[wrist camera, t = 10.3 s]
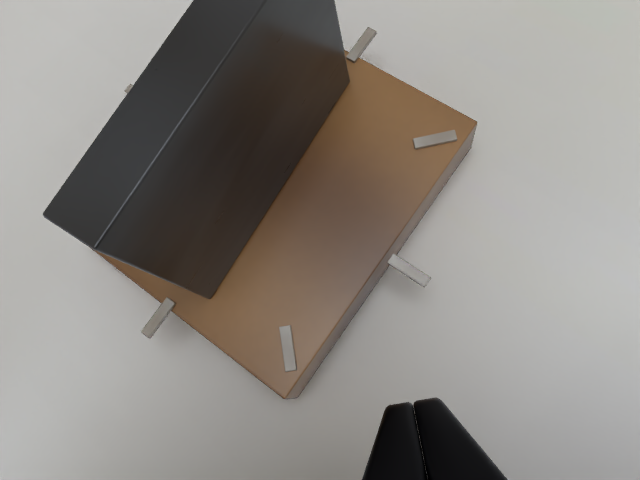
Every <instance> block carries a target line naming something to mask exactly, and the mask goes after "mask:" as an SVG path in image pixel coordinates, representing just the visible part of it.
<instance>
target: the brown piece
mask: <svg viewBox="0 0 640 480" xmlns="http://www.w3.org/2000/svg"><path fill="white" fill-rule="evenodd" d="M376 34H377V33H376V31H375V30H373V29H371V28H369V27H368V28H367V29H366V31H365V32H364V33H363V35H362V36H361V37H360V39H359V40H358V41H357V43H356V44H355V45H354V47H353V48H352V49H351V51H350V52H347V51H345V50H344V52H345V58H346V63H347V68H348V73H349V78H350V82H349V84H348V85H347V87H346V88H345V90H344V91H343V93H342V95H341V96H340V98H339V99H338V101H337V102H336V104H335V105H334V107H333V109H332V110H331V112H330V113H329V115H328V116H327V118H326V120H325V121H324V123H323V124H322V126H321V127H320V129H319V130H318V132H317V134H316V135H315V137H314V138H313V140H312V141H311V143H310V144H309V146H308V148H307V149H306V151H305V152H304V154H303V155H302V157H301V159H300V160H299V162H298V163H297V165H296V166H295V168H294V169H293V171H292V173H291V174H290V176H289V177H288V179H287V180H286V182H285V184H284V185H283V187H282V188H281V190H280V191H279V193H278V194H277V196H276V198H275V199H274V201H273V202H272V204H271V205H270V207H269V209H268V210H267V212H266V213H265V215H264V216H263V218H262V219H261V221H260V223H259V224H258V226H257V227H256V229H255V230H254V232H253V233H252V235H251V237H250V238H249V240H248V241H247V243H246V244H245V246H244V248H243V249H242V251H241V252H240V254H239V255H238V257H237V258H236V260H235V262H234V263H233V265H232V266H231V268H230V269H229V271H228V273H227V274H226V276H225V277H224V279H223V280H222V282H221V283H220V285H219V287H218V288H217V290H216V291H215V293H214V294H213V296H212V297H211V299H207V298H205V297H203V296H200V295H198V294H196V293H193V292H191V291H189V290H186V289H184V288H182V287H179V286H177V285H175V284H172V283H170V282H168V281H165V280H163V279H161V278H158V277H156V276H154V275H151V274H149V273H147V272H144V271H142V270H140V269H137V268H135V267H133V266H130V265H128V264H126V263H123V262H121V261H119V260H116V259H114V258H112V257H109V256H107V255H105V254H102V253H100V252H98V251H95V250H94V251H95V252H96V253H98V254H99V255H100V256H102V257H103V258H104V259H105V260H107V261H108V262H109V263H110V264H112V265H113V266H114V267H116V268H117V269H118V270H119V271H121V272H122V273H123V274H125V275H126V276H127V277H128V278H130V279H131V280H132V281H134V282H135V283H136V284H137V285H139V286H140V287H141V288H142V289H144V290H145V291H146V292H148V293H149V294H150V295H151V296H153V297H154V298H155V299H157V300H158V301H159V302H160V303H162V304H161V306H160V307H159V308H158V310H157V311H156V312H155V314H154V315H153V316H152V318H151V319H150V320H149V322H148V323H147V324H146V326H145V327H144V328H143V330H142V331H141V332H142V333H143V334H144V335H145V336H147V337H148V338H151V337H152V336H153V334H154V333H155V332H156V330H157V329H158V328H159V326H160V325H161V324H162V322H163V321H164V320H165V318H166V317H167V316H168V314H169V313H170V311H172V312H173V313H174V314H176V315H177V316H178V317H180V318H181V319H182V320H183V321H185V322H186V323H187V324H189V325H190V326H191V327H192V328H194V329H195V330H196V331H198V332H199V333H200V334H201V335H203V336H204V337H205V338H207V339H208V340H209V341H210V342H212V343H213V344H214V345H215V346H217V347H218V348H219V349H221V350H222V351H223V352H224V353H226V354H227V355H228V356H230V357H231V358H232V359H233V360H235V361H236V362H237V363H239V364H240V365H241V366H242V367H244V368H245V369H246V370H247V371H249V372H250V373H251V374H253V375H254V376H255V377H256V378H258V379H259V380H260V381H262V382H263V383H264V384H265V385H267V386H268V387H269V388H271V389H272V390H273V391H274V392H276V393H277V394H278V395H279V396H281V397H282V398H283V399H290V398H297V397H298V396H299V395H300V393H301V392H302V390H303V389H304V387H305V386H306V385H307V383H308V382H309V380H310V379H311V377H312V376H313V375H314V373H315V372H316V370H317V369H318V367H319V366H320V364H321V363H322V362H323V360H324V359H325V357H326V356H327V354H328V353H329V351H330V350H331V349H332V347H333V346H334V344H335V343H336V341H337V340H338V338H339V337H340V336H341V334H342V333H343V331H344V330H345V328H346V327H347V325H348V324H349V323H350V321H351V320H352V318H353V317H354V315H355V314H356V312H357V311H358V310H359V308H360V307H361V305H362V304H363V302H364V301H365V299H366V298H367V297H368V295H369V294H370V292H371V291H372V289H373V288H374V286H375V285H376V284H377V282H378V281H379V279H380V278H381V276H382V275H383V273H384V272H385V271H386V269H387V268H388V266H389V265H390V266H392V267H393V268H395V269H397V270H398V271H400V272H401V273H403V274H404V275H406V276H407V277H409V278H410V279H412V280H413V281H415V282H416V283H418V284H419V285H421V286H423V287H425V286H426V285H427V283H428V282H429V280H430V279H431V277H429V276H428V275H426V274H425V273H423V272H422V271H420V270H418V269H417V268H415V267H414V266H412V265H411V264H409V263H408V262H406V261H404V260H403V259H401V258H400V257H398V256H397V253H398V252H399V250H400V249H401V247H402V246H403V245H404V243H405V242H406V240H407V239H408V237H409V236H410V234H411V233H412V232H413V230H414V229H415V227H416V226H417V224H418V223H419V221H420V220H421V219H422V217H423V216H424V214H425V213H426V211H427V210H428V208H429V207H430V206H431V204H432V203H433V201H434V200H435V198H436V197H437V195H438V194H439V193H440V191H441V190H442V188H443V187H444V185H445V184H446V182H447V181H448V180H449V178H450V177H451V175H452V174H453V172H454V171H455V169H456V168H457V167H458V165H459V164H460V162H461V161H462V159H463V158H464V156H465V155H466V154H467V152H468V151H469V149H470V148H471V145H472V141H473V138H474V134H475V130H476V126H477V121H475V120H473V119H471V118H469V117H467V116H466V115H464V114H462V113H460V112H458V111H456V110H455V109H453V108H451V107H449V106H447V105H445V104H443V103H442V102H440V101H438V100H436V99H434V98H432V97H430V96H429V95H427V94H425V93H423V92H421V91H419V90H418V89H416V88H414V87H412V86H410V85H408V84H406V83H405V82H403V81H401V80H399V79H397V78H395V77H393V76H392V75H390V74H388V73H386V72H384V71H382V70H381V69H379V68H377V67H375V66H373V65H371V64H369V63H368V62H366V61H364V60H362V59H360V58H359V57H360V55H361V54H362V53H363V51H364V50H365V49H366V47H367V46H368V45H369V43H370V42H371V41H372V39H373V38H374V37H375V35H376ZM132 87H133V85H132V84H130V85H129V86H128V87H127V89H126V90H125V92H126V93H127V94H128V92H129V91H130V90H131V88H132ZM91 249H92V248H91Z"/></svg>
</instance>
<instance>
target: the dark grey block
mask: <svg viewBox="0 0 640 480" xmlns="http://www.w3.org/2000/svg"><path fill="white" fill-rule="evenodd" d="M349 82H350V78H349V73H348V68H347V63H346V58H345V52H344V47H343V42H342V37H341V32H340V27H339V22H338V17H337V11H336V6H335V1H334V0H193V2H192V3H191V5H190V6H189V8H188V9H187V10H186V12H185V13H184V15H183V16H182V17H181V19H180V20H179V22H178V23H177V25H176V26H175V27H174V29H173V30H172V32H171V33H170V34H169V36H168V37H167V39H166V40H165V41H164V43H163V44H162V46H161V47H160V49H159V50H158V51H157V53H156V54H155V56H154V57H153V58H152V60H151V61H150V63H149V64H148V66H147V67H146V68H145V70H144V71H143V73H142V74H141V75H140V77H139V78H138V80H137V81H136V82H135V84H134V85H133V87H132V88H131V90H130V91H129V92H128V94H127V95H126V97H125V98H124V99H123V101H122V102H121V104H120V105H119V107H118V108H117V109H116V111H115V112H114V114H113V115H112V116H111V118H110V119H109V121H108V122H107V123H106V125H105V126H104V128H103V129H102V131H101V132H100V133H99V135H98V136H97V138H96V139H95V140H94V142H93V143H92V145H91V146H90V148H89V149H88V150H87V152H86V153H85V155H84V156H83V157H82V159H81V160H80V162H79V163H78V164H77V166H76V167H75V169H74V170H73V172H72V173H71V174H70V176H69V177H68V179H67V180H66V181H65V183H64V184H63V186H62V187H61V189H60V190H59V191H58V193H57V194H56V196H55V197H54V198H53V200H52V201H51V203H50V204H49V205H48V207H47V208H46V210H45V211H44V213H43V216H44V217H45V218H46V219H48V220H49V221H51V222H52V223H54V224H55V225H57V226H58V227H60V228H61V229H63V230H64V231H66V232H68V233H69V234H71V235H72V236H74V237H75V238H77V239H78V240H80V241H81V242H83V243H84V244H86V245H87V246H89V247H90V248H92V249H93V250H95V251H98V252H100V253H102V254H105V255H107V256H109V257H112V258H114V259H116V260H119V261H121V262H123V263H126V264H128V265H130V266H133V267H135V268H137V269H140V270H142V271H144V272H147V273H149V274H151V275H154V276H156V277H158V278H161V279H163V280H165V281H168V282H170V283H172V284H175V285H177V286H179V287H182V288H184V289H186V290H189V291H191V292H193V293H196V294H198V295H200V296H203V297H205V298H207V299H211V297H212V296H213V294H214V293H215V291H216V290H217V288H218V287H219V285H220V283H221V282H222V280H223V279H224V277H225V276H226V274H227V273H228V271H229V269H230V268H231V266H232V265H233V263H234V262H235V260H236V258H237V257H238V255H239V254H240V252H241V251H242V249H243V248H244V246H245V244H246V243H247V241H248V240H249V238H250V237H251V235H252V233H253V232H254V230H255V229H256V227H257V226H258V224H259V223H260V221H261V219H262V218H263V216H264V215H265V213H266V212H267V210H268V209H269V207H270V205H271V204H272V202H273V201H274V199H275V198H276V196H277V194H278V193H279V191H280V190H281V188H282V187H283V185H284V184H285V182H286V180H287V179H288V177H289V176H290V174H291V173H292V171H293V169H294V168H295V166H296V165H297V163H298V162H299V160H300V159H301V157H302V155H303V154H304V152H305V151H306V149H307V148H308V146H309V144H310V143H311V141H312V140H313V138H314V137H315V135H316V134H317V132H318V130H319V129H320V127H321V126H322V124H323V123H324V121H325V120H326V118H327V116H328V115H329V113H330V112H331V110H332V109H333V107H334V105H335V104H336V102H337V101H338V99H339V98H340V96H341V95H342V93H343V91H344V90H345V88H346V87H347V85H348V84H349Z"/></svg>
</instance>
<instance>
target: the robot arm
mask: <svg viewBox="0 0 640 480" xmlns="http://www.w3.org/2000/svg"><path fill="white" fill-rule="evenodd" d="M414 411H415V413H414ZM415 416H416V418H415ZM416 421H417V423H416ZM417 427H418V428H417ZM418 432H419V433H418ZM419 437H420V438H419ZM420 442H421V443H420ZM421 447H422V448H421ZM422 452H423V453H422ZM423 457H424V458H423ZM424 462H425V463H424ZM425 467H426V468H425ZM426 472H427V474H426ZM427 477H428V479H427ZM362 480H507V478H506V477H505V476H504V475H503V474H502V472H501V471H500V470H499V469H498V468H497V466H496V465H495V464H494V463H493V462H492V460H491V459H490V458H489V457H488V456H487V454H486V453H485V452H484V451H483V450H482V448H481V447H480V446H479V445H478V444H477V442H476V441H475V440H474V439H473V438H472V436H471V435H470V434H469V433H468V432H467V430H466V429H465V428H464V427H463V426H462V424H461V423H460V422H459V421H458V420H457V418H456V417H455V416H454V415H453V414H452V412H451V411H450V410H449V409H448V408H447V406H446V405H445V404H444V403H443V402H442V401H441V400H440V399H439V398H430V399H424V400H418V401H416V402H414V408H413V405H412V404H411V403H409V402H406V403H400V404H394V405H389V406H387V407H386V409H385V411H384V414H383V417H382V420H381V423H380V426H379V430H378V433H377V436H376V439H375V442H374V445H373V448H372V451H371V454H370V457H369V460H368V463H367V466H366V469H365V472H364V476H363V479H362Z"/></svg>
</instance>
